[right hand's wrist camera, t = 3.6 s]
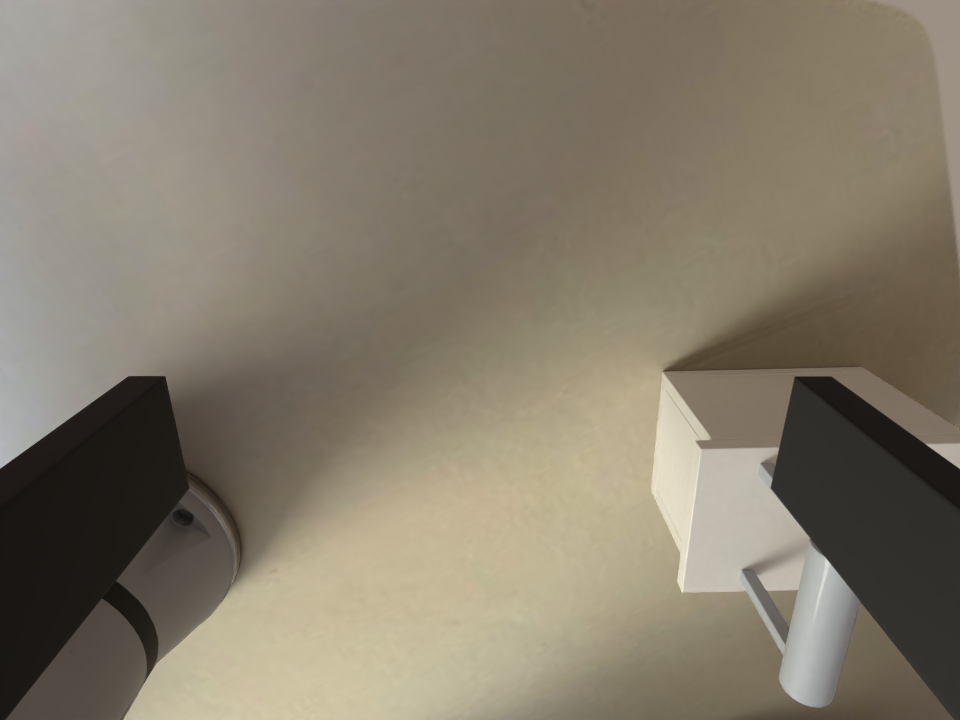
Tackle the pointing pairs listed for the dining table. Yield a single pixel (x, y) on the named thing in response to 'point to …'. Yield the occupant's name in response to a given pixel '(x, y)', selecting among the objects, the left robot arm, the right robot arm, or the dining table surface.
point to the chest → (750, 419)
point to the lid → (771, 558)
